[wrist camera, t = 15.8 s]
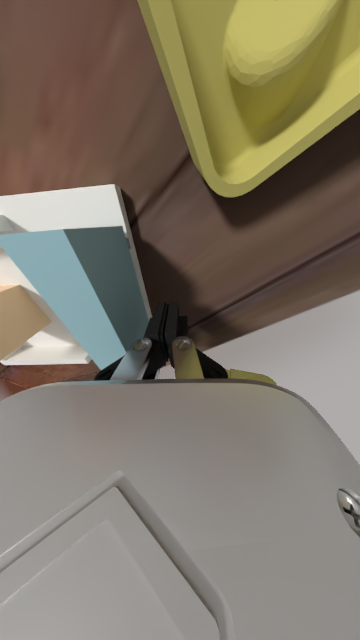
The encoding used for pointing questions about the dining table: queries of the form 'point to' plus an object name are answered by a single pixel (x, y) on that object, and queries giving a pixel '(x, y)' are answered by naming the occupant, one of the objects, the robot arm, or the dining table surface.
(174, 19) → the plastic component
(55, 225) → the housing
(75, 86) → the dining table surface
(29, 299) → the block
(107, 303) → the light blue rectangular block
